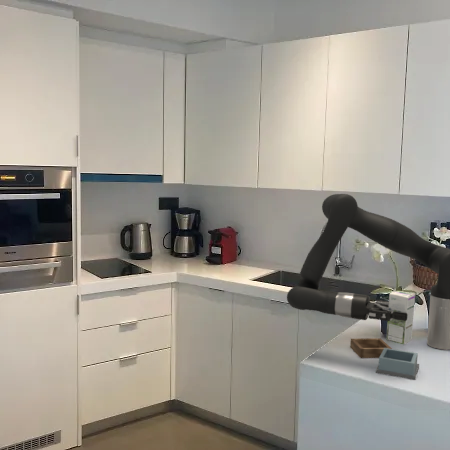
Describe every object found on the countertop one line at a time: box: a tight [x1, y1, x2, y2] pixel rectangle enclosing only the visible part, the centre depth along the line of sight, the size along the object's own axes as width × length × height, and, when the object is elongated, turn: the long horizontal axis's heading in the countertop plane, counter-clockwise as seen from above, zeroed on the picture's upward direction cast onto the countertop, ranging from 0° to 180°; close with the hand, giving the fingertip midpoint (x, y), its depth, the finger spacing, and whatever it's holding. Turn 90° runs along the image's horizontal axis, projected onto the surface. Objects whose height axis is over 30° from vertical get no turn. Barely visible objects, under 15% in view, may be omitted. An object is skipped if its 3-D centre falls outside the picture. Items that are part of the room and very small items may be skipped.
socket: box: [375, 348, 420, 381], centre depth 164 cm, size 11×11×4 cm
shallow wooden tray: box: [349, 337, 393, 359], centre depth 179 cm, size 10×10×3 cm
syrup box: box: [385, 290, 416, 346], centre depth 162 cm, size 6×6×14 cm
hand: (408, 313), depth 161 cm, fingers closed on syrup box, 7 cm apart
